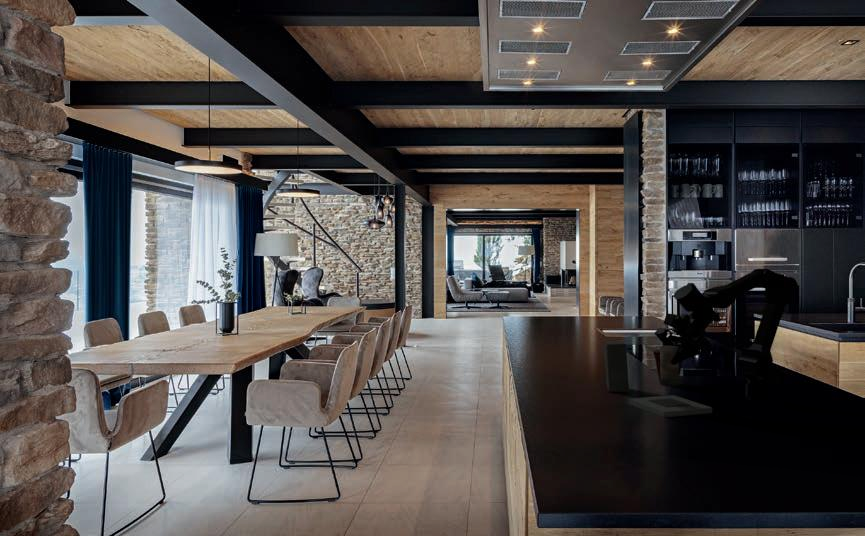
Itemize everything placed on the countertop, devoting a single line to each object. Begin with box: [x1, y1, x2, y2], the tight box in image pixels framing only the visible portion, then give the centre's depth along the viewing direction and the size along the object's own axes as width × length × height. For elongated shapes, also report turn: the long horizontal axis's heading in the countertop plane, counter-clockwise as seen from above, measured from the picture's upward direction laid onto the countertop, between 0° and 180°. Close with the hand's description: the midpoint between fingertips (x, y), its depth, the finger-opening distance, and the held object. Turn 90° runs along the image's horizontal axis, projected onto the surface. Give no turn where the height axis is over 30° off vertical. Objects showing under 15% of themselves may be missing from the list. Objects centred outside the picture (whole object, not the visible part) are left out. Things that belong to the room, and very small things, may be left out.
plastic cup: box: [651, 349, 683, 383], centre depth 203 cm, size 11×11×12 cm
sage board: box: [627, 394, 713, 418], centre depth 170 cm, size 16×16×2 cm
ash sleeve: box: [659, 345, 680, 388], centre depth 169 cm, size 5×5×11 cm
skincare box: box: [604, 341, 630, 393], centre depth 194 cm, size 8×7×16 cm
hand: (665, 362), depth 169 cm, fingers closed on ash sleeve, 5 cm apart
